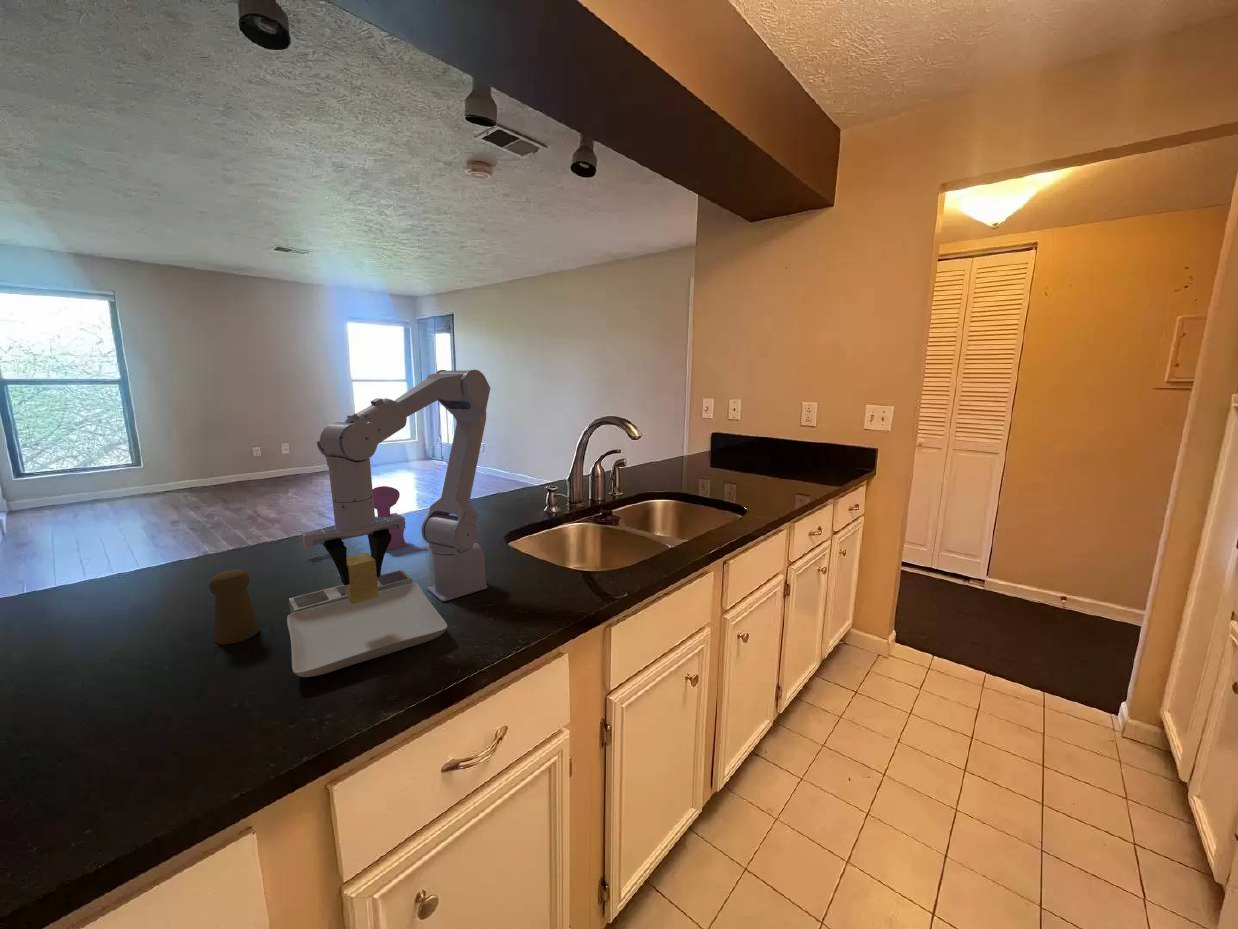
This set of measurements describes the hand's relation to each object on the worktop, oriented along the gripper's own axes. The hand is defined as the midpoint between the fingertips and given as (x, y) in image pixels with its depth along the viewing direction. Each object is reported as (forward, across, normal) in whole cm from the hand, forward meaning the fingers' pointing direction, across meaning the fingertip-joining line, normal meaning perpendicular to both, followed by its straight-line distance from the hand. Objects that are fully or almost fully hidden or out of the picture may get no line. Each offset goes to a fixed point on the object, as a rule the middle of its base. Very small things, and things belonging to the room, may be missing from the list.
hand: (361, 579), depth 79 cm
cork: (+10, +16, -15) cm, 24 cm away
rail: (+10, -2, -16) cm, 19 cm away
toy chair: (+10, -17, -44) cm, 48 cm away
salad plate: (+10, 0, 0) cm, 11 cm away
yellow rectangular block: (+3, 0, -1) cm, 3 cm away
